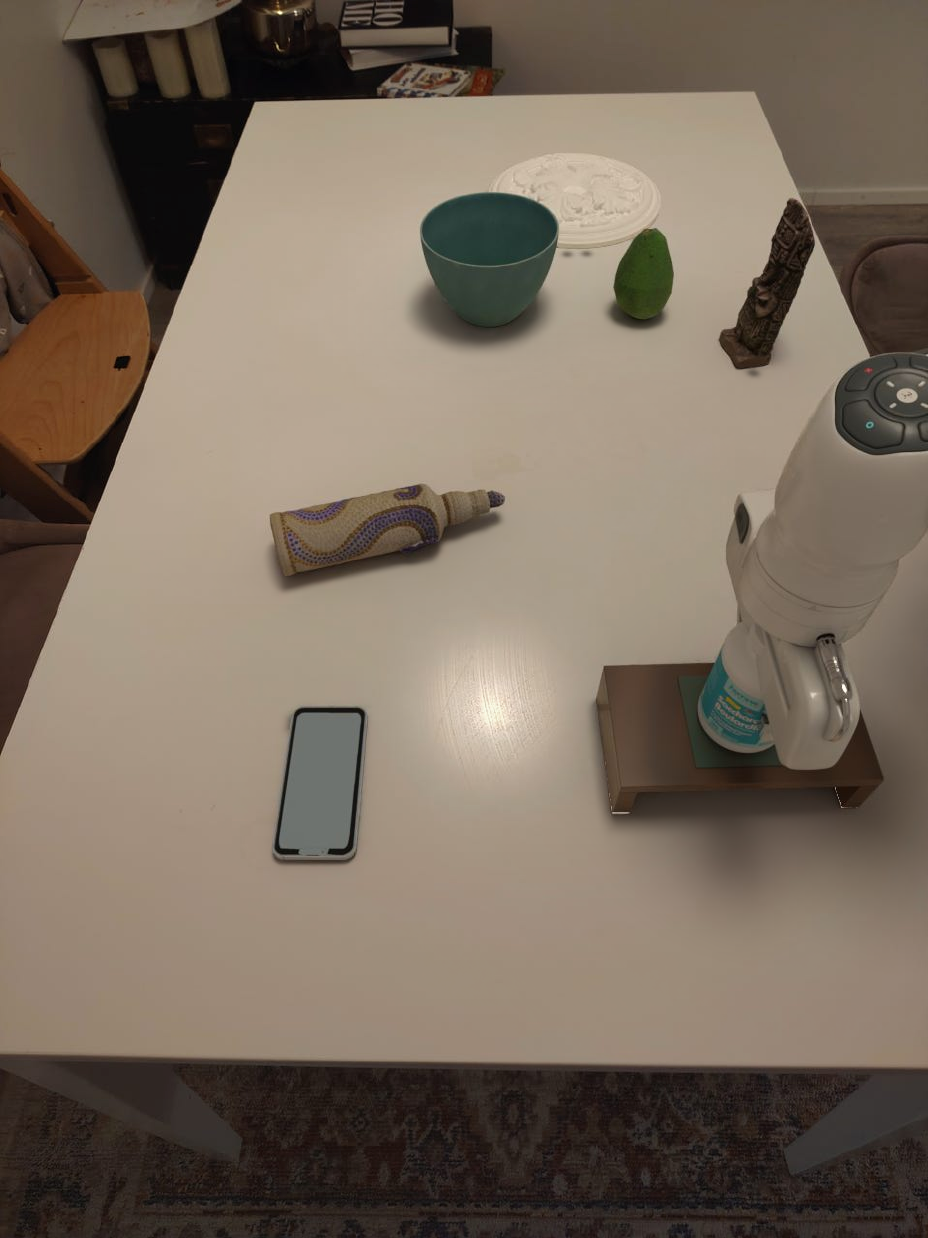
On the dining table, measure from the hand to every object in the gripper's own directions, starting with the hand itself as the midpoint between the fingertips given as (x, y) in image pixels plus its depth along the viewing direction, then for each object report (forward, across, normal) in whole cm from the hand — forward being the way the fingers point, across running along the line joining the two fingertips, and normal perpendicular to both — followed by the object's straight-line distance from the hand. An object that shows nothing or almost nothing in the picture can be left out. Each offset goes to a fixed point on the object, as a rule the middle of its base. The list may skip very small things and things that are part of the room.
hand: (755, 685), depth 67 cm
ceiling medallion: (+12, +99, +4) cm, 100 cm away
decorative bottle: (+12, +26, +32) cm, 43 cm away
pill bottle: (+6, 0, 0) cm, 6 cm away
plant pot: (+12, +70, +19) cm, 73 cm away
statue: (+12, +59, -16) cm, 62 cm away
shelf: (+12, 0, 0) cm, 12 cm away
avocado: (+12, +68, -2) cm, 69 cm away
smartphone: (+12, -2, +37) cm, 39 cm away
